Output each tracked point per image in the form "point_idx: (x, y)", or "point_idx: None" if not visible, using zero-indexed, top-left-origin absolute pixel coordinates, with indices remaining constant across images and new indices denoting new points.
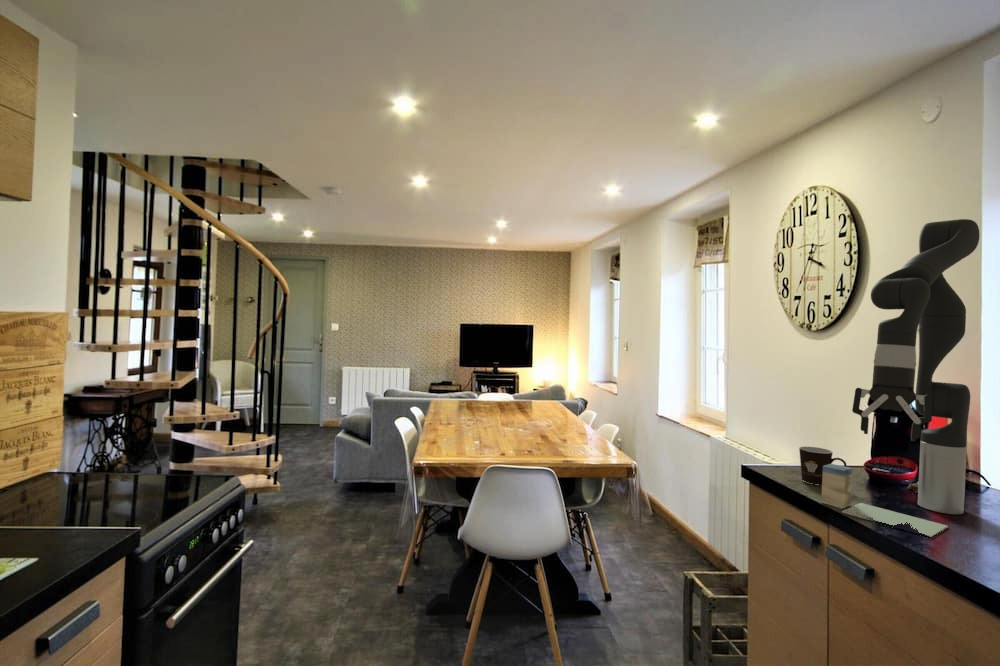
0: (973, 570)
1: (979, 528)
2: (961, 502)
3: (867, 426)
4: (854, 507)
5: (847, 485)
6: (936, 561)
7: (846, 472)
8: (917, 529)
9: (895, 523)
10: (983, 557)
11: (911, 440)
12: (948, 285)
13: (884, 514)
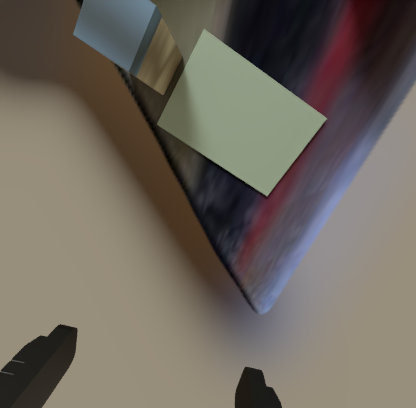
0: (268, 286)
1: (392, 87)
2: None
3: (40, 403)
4: (184, 83)
5: (158, 60)
6: (237, 276)
7: (139, 56)
8: (259, 171)
9: (233, 155)
10: (304, 241)
11: (236, 391)
12: None
13: (230, 104)
